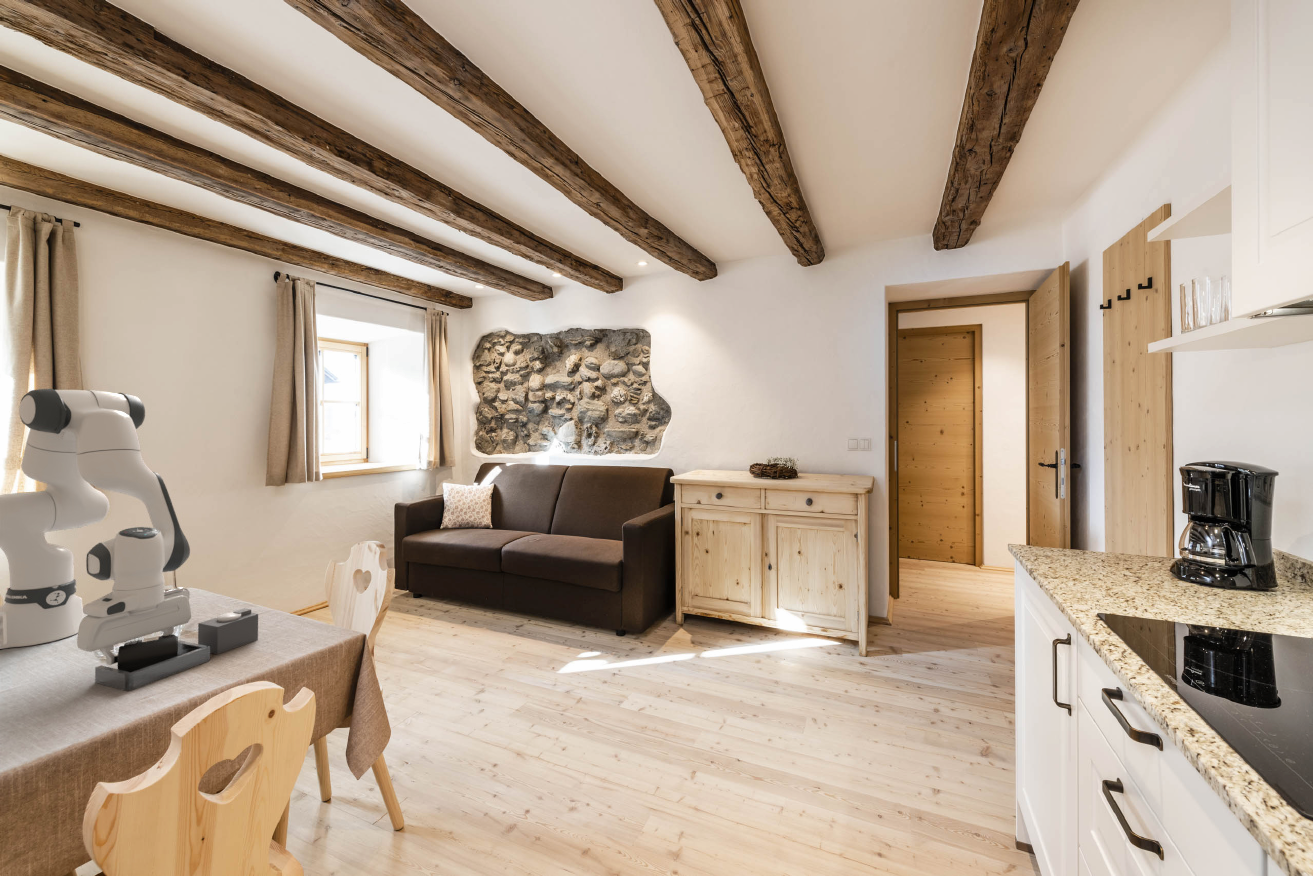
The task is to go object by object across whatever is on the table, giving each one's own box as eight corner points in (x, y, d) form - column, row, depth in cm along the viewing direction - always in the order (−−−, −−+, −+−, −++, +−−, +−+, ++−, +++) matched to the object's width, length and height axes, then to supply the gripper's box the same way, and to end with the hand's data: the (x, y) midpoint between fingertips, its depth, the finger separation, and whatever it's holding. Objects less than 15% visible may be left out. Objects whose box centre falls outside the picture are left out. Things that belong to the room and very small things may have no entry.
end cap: (117, 680, 118) (117, 650, 118) (120, 669, 123) (120, 640, 123) (177, 668, 124) (177, 639, 124) (178, 657, 130) (178, 630, 130)
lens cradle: (95, 682, 116) (95, 667, 116) (178, 654, 132) (179, 640, 132) (127, 691, 113) (128, 675, 113) (209, 660, 128) (210, 646, 128)
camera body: (197, 650, 134) (198, 619, 134) (239, 636, 143) (239, 607, 143) (217, 654, 132) (217, 623, 132) (257, 639, 141) (258, 610, 141)
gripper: (180, 583, 135) (180, 637, 135) (72, 609, 115) (72, 671, 115) (197, 586, 133) (197, 640, 133) (91, 612, 113) (90, 676, 113)
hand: (138, 655), depth 124 cm, fingers open, 8 cm apart
